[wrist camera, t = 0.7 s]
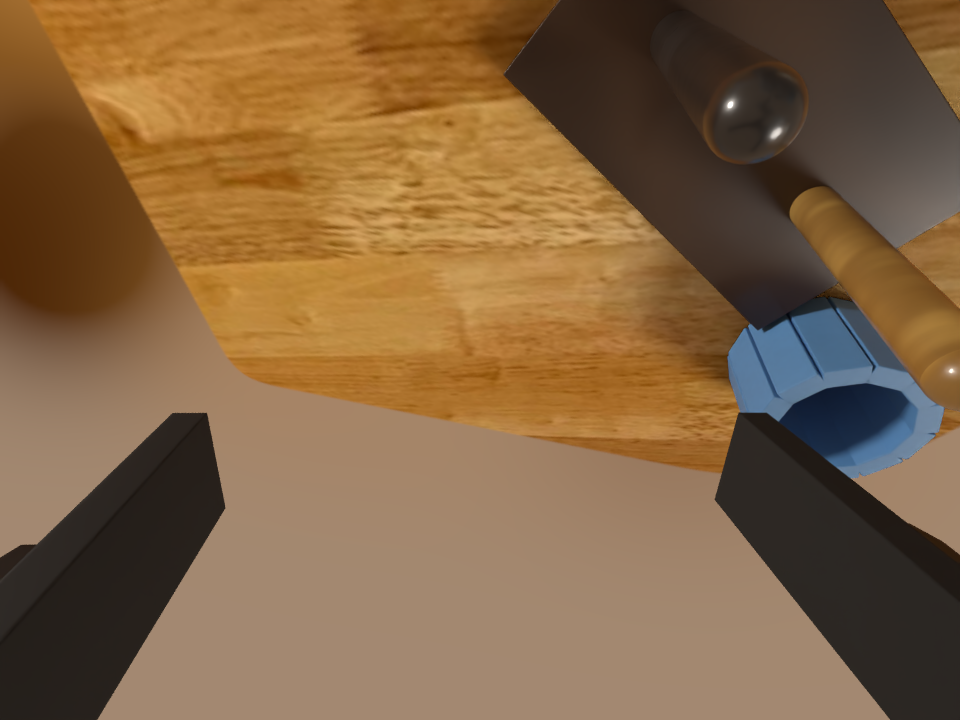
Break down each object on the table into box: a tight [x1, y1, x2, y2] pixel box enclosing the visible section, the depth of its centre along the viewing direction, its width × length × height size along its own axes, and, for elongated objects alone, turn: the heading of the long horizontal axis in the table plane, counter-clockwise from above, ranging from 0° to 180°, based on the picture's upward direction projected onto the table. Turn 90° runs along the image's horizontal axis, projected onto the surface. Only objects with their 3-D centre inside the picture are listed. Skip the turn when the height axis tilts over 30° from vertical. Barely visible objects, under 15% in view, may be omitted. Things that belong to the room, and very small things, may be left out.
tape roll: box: [728, 297, 945, 478], centre depth 27 cm, size 8×8×6 cm
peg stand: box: [503, 0, 960, 412], centre depth 17 cm, size 11×19×14 cm, turn 50°
